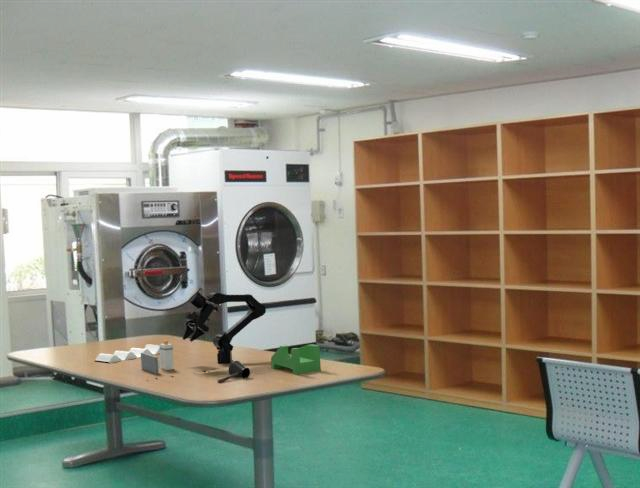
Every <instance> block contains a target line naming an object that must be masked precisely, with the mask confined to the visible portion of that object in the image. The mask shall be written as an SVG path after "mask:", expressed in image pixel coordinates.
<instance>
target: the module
mask: <svg viewBox="0 0 640 488" xmlns="http://www.w3.org/2000/svg"><path fill="white" fill-rule="evenodd" d="M158 345H159V346H160V354H159V358H160V359H159V360H160V369H161V370H163V371H164V370H165V371H170V370H174V369H175V363H174V347H173V344H172V343H169V340H167V339H166V340H163V343H159V344H158Z"/></svg>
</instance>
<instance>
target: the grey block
mask: <svg viewBox="0 0 640 488" xmlns="http://www.w3.org/2000/svg"><path fill="white" fill-rule="evenodd" d="M140 360H141V361H140V362H141V363H140V364H141V370H144V371H147V372H149V373H152V374H155V375H158V374H159V369H161V362H160V359H158V356H155V355H149V354H146V353H141V357H140Z"/></svg>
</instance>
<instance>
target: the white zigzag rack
mask: <svg viewBox="0 0 640 488" xmlns="http://www.w3.org/2000/svg"><path fill="white" fill-rule="evenodd" d="M141 353H146V354H149V355H152V356H155V355H160V346H159V344H151V343H150V344H149V343H146V345H145V346H144V348H138V347H131V348H130V349H129V351H126V350H115V351H114V352H113V354H111V353H99V354H98V355H97V356H96V358H95V360H94V362H95V363H103V364H112V363H118V361H119V362H123V360H124V361H127V360H128V361H129V360H132V359H134V358H135V359H140V358H141ZM139 357H140V358H139Z"/></svg>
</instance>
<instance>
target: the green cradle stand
mask: <svg viewBox="0 0 640 488" xmlns="http://www.w3.org/2000/svg"><path fill="white" fill-rule="evenodd" d="M289 352H290V354H289ZM270 360H271V361H270V362H271V369H282V368H288V369H290V370H292V375H294V376H295V375H302V374H309V373H314V372H320V371H322V369H321V350H320V345H319V344H313V343H312V344H310V343H309V344H306V345H302V346H300V347H293V348H291V350H290V351H289V345H280V346H279V347H278V348H277V350H276V351H275V352H274V354H273V355H272V356H271V357H270Z"/></svg>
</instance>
